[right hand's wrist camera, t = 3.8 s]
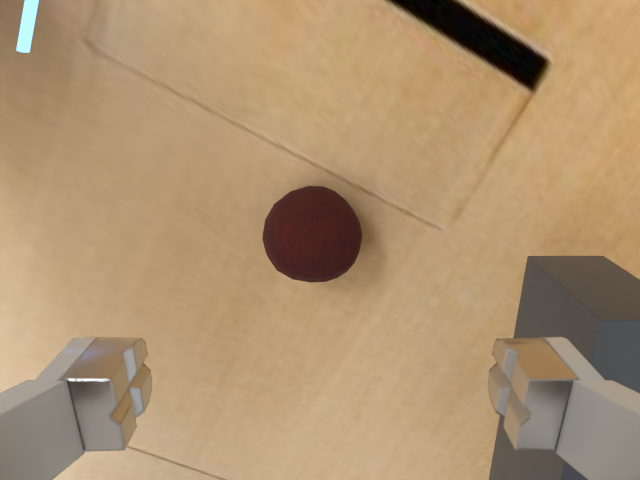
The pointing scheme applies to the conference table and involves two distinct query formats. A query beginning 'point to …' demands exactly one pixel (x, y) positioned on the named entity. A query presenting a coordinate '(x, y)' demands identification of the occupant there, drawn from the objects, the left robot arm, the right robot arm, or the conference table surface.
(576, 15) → the conference table surface
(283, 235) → the dark red ball
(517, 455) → the bar
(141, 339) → the right robot arm
